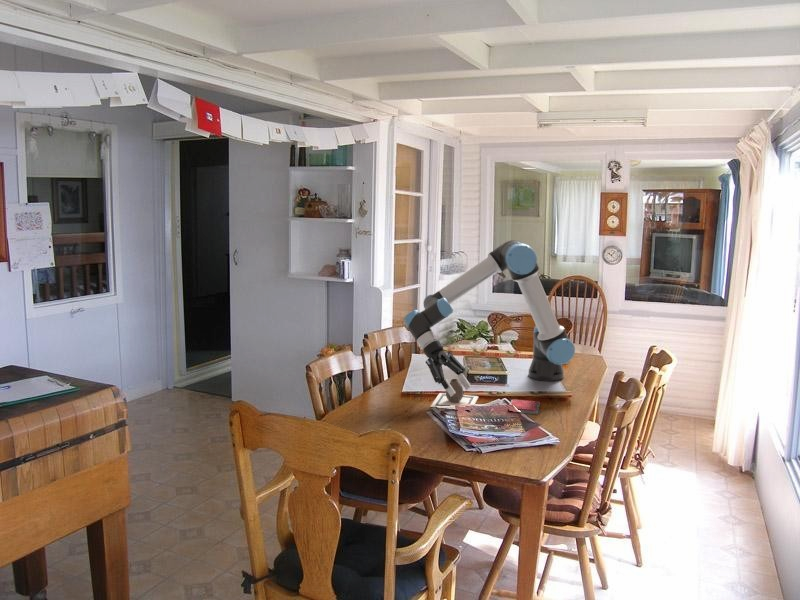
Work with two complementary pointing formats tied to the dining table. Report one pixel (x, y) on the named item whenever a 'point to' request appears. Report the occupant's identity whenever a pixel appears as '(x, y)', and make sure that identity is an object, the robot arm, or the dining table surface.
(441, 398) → the marked card
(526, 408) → the ink pad
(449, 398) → the brown egg
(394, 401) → the dining table surface
